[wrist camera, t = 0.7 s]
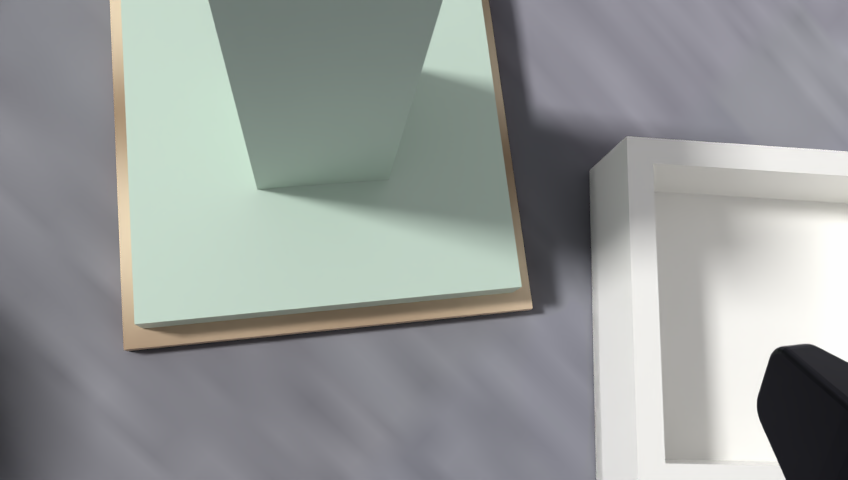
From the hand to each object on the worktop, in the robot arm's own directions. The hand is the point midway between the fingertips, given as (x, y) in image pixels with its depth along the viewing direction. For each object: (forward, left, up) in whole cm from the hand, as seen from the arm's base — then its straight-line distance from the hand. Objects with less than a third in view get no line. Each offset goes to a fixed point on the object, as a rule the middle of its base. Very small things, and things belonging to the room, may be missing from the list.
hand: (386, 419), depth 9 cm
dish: (-5, -11, -13) cm, 18 cm away
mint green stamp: (+7, -4, -13) cm, 15 cm away
